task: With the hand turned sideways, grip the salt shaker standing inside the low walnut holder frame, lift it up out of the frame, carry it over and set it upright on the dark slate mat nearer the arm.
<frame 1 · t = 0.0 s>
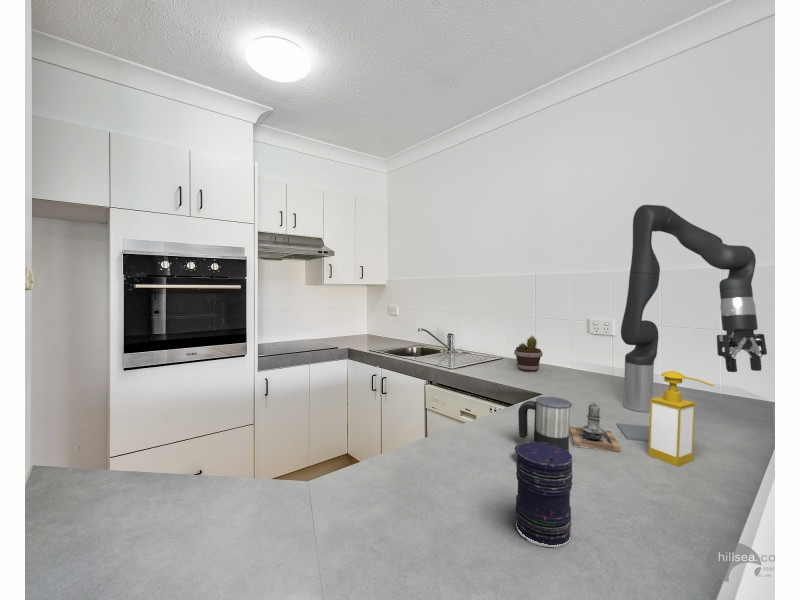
hand: (744, 371, 106), 22 cm above the countertop, tool pointing down, fingers open, 8 cm apart
slate mat: (642, 434, 118), on the countertop
soap bottle: (681, 463, 99), on the countertop
holder frame: (593, 441, 112), on the countertop
navy blue cylinder: (542, 531, 71), on the countertop
flowerpot: (527, 370, 205), on the countertop
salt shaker: (593, 442, 112), resting in holder frame
milk frother: (542, 458, 101), on the countertop
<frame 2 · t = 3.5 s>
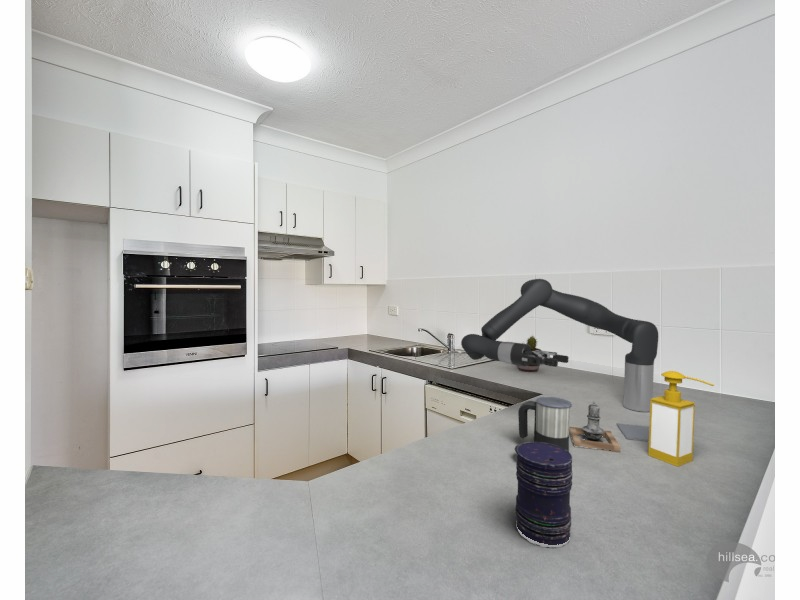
hand: (562, 361, 117), 23 cm above the countertop, tool horizontal, fingers open, 8 cm apart
nothing on the countertop moved.
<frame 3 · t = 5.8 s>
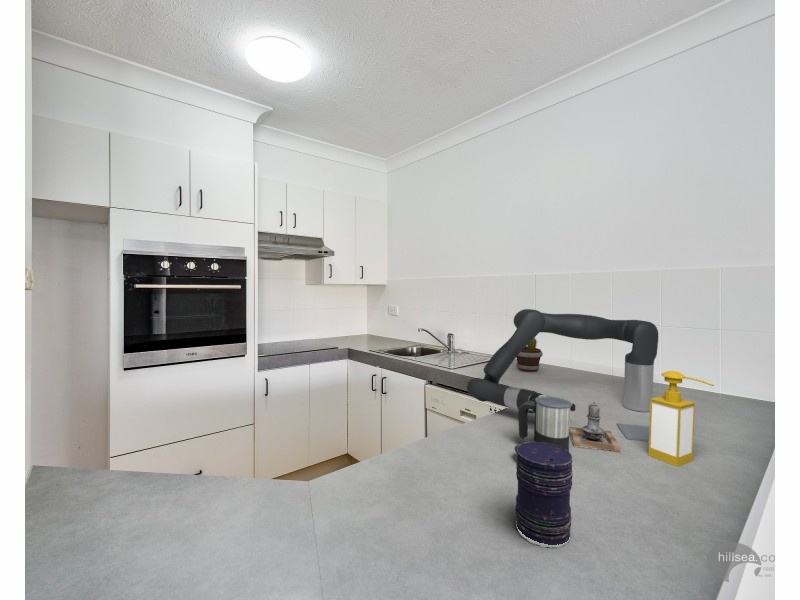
hand: (569, 411, 117), 7 cm above the countertop, tool horizontal, fingers open, 8 cm apart
nothing on the countertop moved.
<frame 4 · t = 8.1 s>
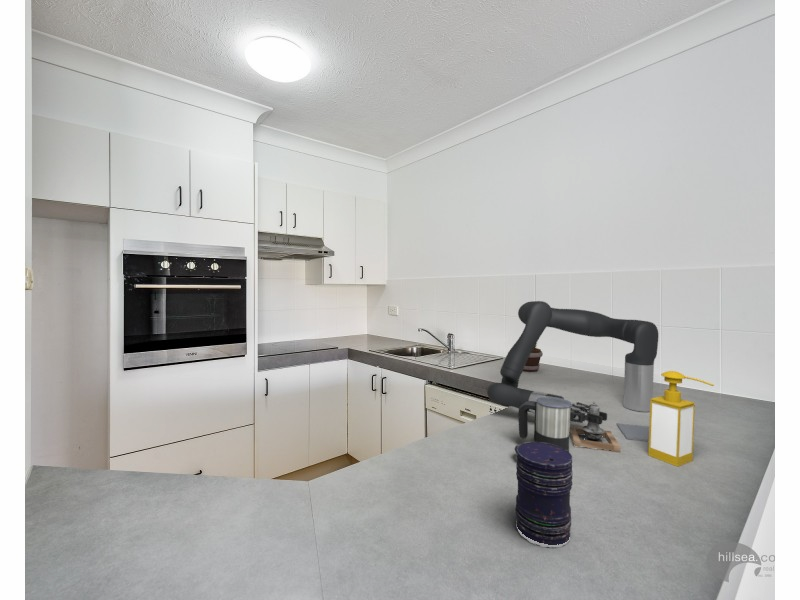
hand: (604, 418, 110), 8 cm above the countertop, tool horizontal, fingers closed on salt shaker, 3 cm apart
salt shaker: (593, 441, 112), resting in holder frame, touching gripper
everything else where it was.
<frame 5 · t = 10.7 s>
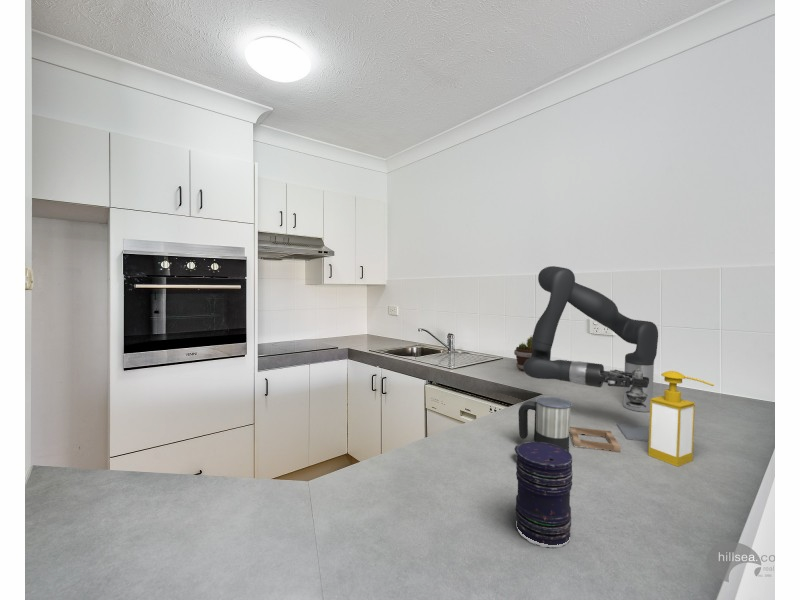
hand: (648, 382, 115), 17 cm above the countertop, tool horizontal, fingers closed on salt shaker, 3 cm apart
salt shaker: (636, 405, 117), point 9 cm above the countertop, touching gripper
everything else where it was.
when the fingers open (9 cm above the countertop, at t = 13.3 s): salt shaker drops 1 cm, resting on slate mat.
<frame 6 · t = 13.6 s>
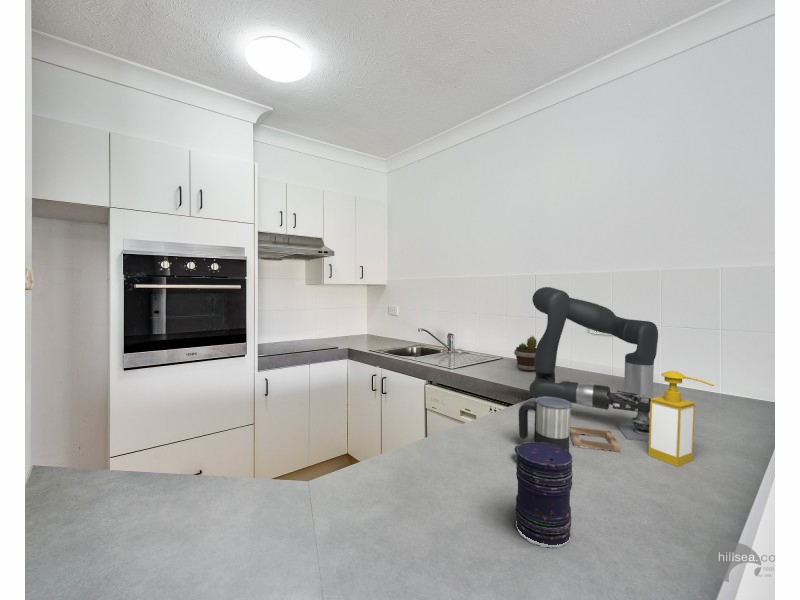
hand: (653, 405, 116), 10 cm above the countertop, tool horizontal, fingers open, 6 cm apart
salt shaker: (642, 432, 118), resting on slate mat
everything else where it was.
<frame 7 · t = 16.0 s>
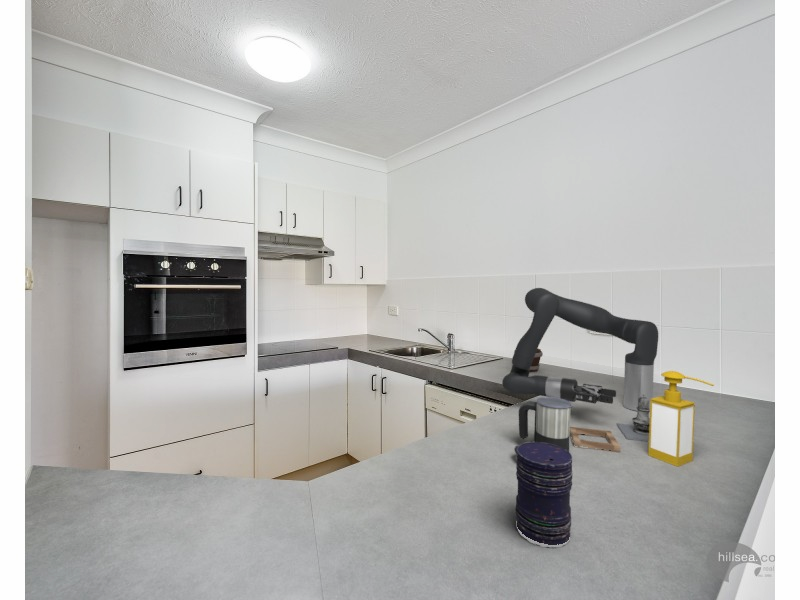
hand: (614, 396, 122), 10 cm above the countertop, tool horizontal, fingers open, 8 cm apart
nothing on the countertop moved.
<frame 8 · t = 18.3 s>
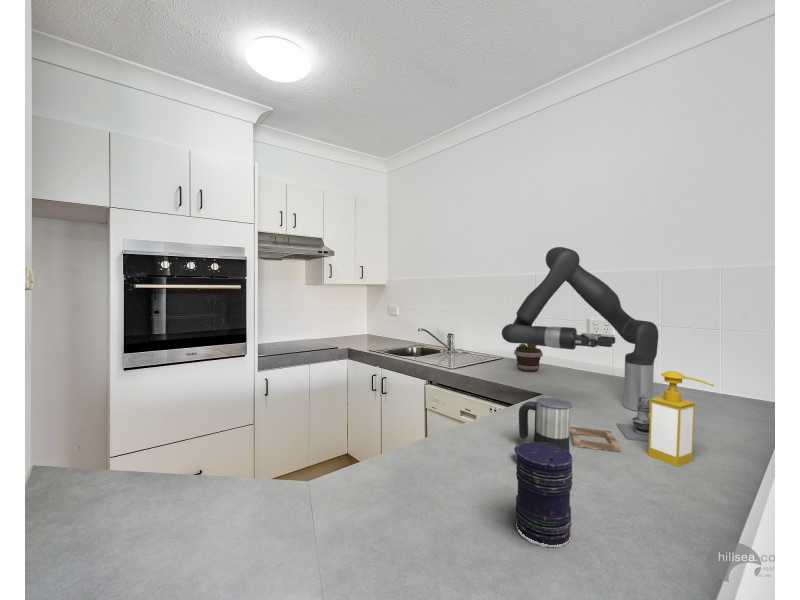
hand: (613, 342, 122), 28 cm above the countertop, tool horizontal, fingers open, 8 cm apart
nothing on the countertop moved.
at the end: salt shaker inside the target area on the slate mat (0.1 cm from its centre), point 0.4 cm above the slate mat's base; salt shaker tilted 1°; the gripper is holding nothing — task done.
